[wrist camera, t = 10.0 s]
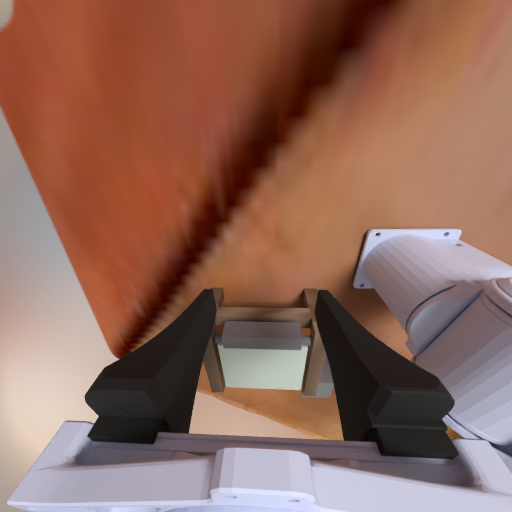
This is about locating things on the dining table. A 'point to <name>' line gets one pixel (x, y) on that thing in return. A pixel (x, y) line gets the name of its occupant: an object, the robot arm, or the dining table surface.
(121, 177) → the dining table surface
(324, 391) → the grey cube
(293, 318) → the frame
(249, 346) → the trapdoor
